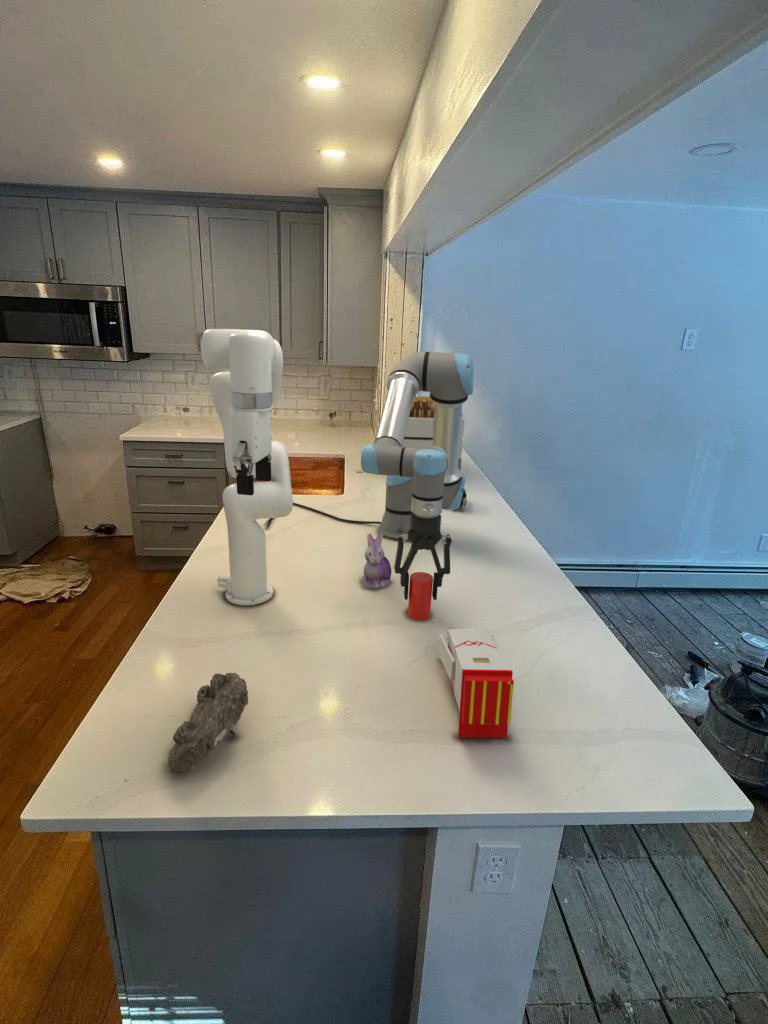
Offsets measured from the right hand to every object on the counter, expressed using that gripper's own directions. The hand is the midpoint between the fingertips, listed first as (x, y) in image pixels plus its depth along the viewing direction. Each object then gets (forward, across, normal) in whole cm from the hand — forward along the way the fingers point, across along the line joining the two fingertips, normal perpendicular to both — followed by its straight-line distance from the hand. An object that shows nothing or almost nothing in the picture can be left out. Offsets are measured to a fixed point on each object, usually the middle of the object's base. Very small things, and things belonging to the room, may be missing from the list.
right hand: (420, 597), depth 146 cm
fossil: (+5, -43, -43) cm, 61 cm away
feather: (+5, -46, +71) cm, 85 cm away
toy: (+5, +7, -32) cm, 33 cm away
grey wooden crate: (+5, +16, +135) cm, 136 cm away
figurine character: (+5, +25, +87) cm, 90 cm away
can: (+5, 0, 0) cm, 5 cm away
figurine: (+5, -10, +18) cm, 21 cm away
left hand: (-35, -38, -19) cm, 55 cm away
